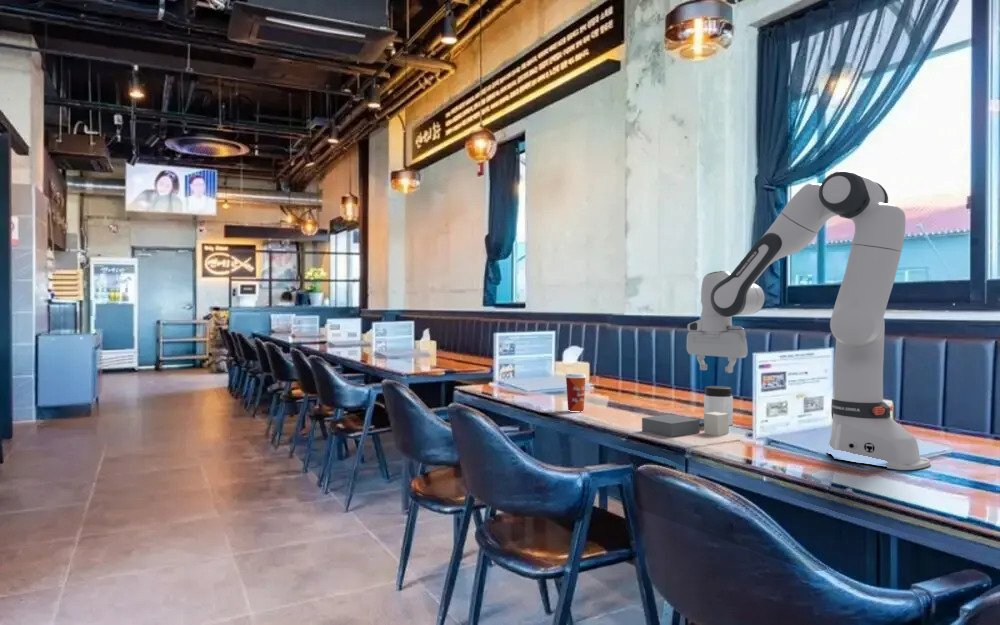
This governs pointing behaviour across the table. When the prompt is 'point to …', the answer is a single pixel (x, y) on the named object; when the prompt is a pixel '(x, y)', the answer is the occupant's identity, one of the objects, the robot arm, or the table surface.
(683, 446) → the table surface
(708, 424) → the block
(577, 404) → the paper cup
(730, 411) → the jar
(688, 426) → the block
